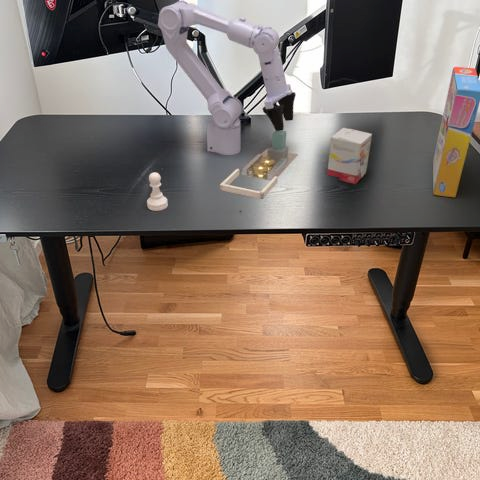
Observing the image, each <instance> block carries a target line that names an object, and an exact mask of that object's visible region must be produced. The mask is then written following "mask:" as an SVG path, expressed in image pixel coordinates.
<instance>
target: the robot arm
mask: <svg viewBox="0 0 480 480" xmlns="http://www.w3.org/2000/svg"><path fill="white" fill-rule="evenodd" d="M246 20H247V19H246V17H243V16H241V17H239V18H238V17H235V18H234V19H231V20H230V19H228V18H225V17H224V16H222V15H221V16H220V15H219V14H216V13H214V12H211V11H209V10H208V9H205V8H202V7H201V6H199V5H197V4H195V3H193V2H192V3H191V2H190V3H189V2H187V1H185V0H178V1H176V2H175V3H172V4H170V5H167V6H164V7H162V8H161V9H160V11H159V15H158V22H157V26H158V28H160V29H159V30H161V34H162V38H163V42H164V46H165V48H166V49H167V51H168V52H169V54H170V55H171V57H173V59H174V60H175V61H176V63H177V64H178V65H179V66H180V68H181V69H182V70H183V71H184V73H185V74H186V75H187V77H188V78H189V80H190V81H191V82H192V83H193V85H194V86H195V88H197V89H198V91H199V92H200V94H201V95H202V96H203V97H204V98H205V100H206V102H207V109H208V111H209V113H210V114H211V117H212V120H213V121H210V123H209V124H208V126H207V130H206V144H207V145H206V146H207V148H206V149H207V152H213V153H216V154H220V155H223V156H232V155H237V154H239V153H240V152H241V120H240V116H241V115H242V113H243V109H244V108H243V104H242V102H241V101H240V100H239V99H238V98H237V97H235V96H234V95H232V94H231V93H230V91H228V90H226V89H224V88H222V87H221V85H220V84H219V83H218V82H217V80H216V79H215V78H214V76H213V75H212V73H211V72H210V71H209V70H208V68H207V67H206V65H204V63H203V62H202V60H201V59H200V58H199V56H198V55H197V53H195V51H194V50H193V49H192V48H191V46H190V45H189V43H188V42H187V41H188V40H187V39H188V33H189V32H188V31H189V29H190V27H192V26H196V25H199V26H202V27H205V28H209V29H212V30H214V31H218V32H220V33H223V34H226V37H227V39H228V40H229V41H231V42H233V43H236V44H238V45H241V46H244V47H246V48H249V49H253V52H254V53H255V54H256V55H257V56H258V60H259V67H260V70H261V74H262V78H263V84H264V87H265V91H266V97H265V100H264V106H263V107H262V112H263V113H264V114H265V115H266V116H267V118H268V119H269V120H270V122H271V124H272V126H273V128H274V129H275V131H284V130H285V129H284V128H285V126H284V120H285V121H286V122H288V121H293V120H294V104H295V98H296V95H297V94H296V92H293V89H292V88H291V84H290V83H289V84H287V80H286V75H285V70H284V66H283V65H284V64H283V61H282V57H281V53H280V49H279V44H280V36H279V33H278V32H277V31H276V30H275V29H273V28H272V27H271V26H267V27H264V28H263V25H262V24H258V25H257V24H254V23H252V22H248V21H246ZM277 103H278V104H277Z"/></svg>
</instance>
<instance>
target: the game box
mask: <svg viewBox="0 0 480 480" xmlns="http://www.w3.org/2000/svg"><path fill="white" fill-rule="evenodd" d="M448 85H449V86H448V90H447V95H446V99H445V103H444V109H443V114H442V117H441V124H440V127H439V128H440V129H439V132H438V137H437V142H436V146H435V149H434V150H435V151H434V156H433V161H432V178H433V179H432V184H433V186H432V190H433V191H432V192H433V195H434V196H439V197H440V196H441V197H446V198H447V197H449V198H456V197H457V192H458V189H459V185H460V180H461V177H462V174H463V173H462V172H463V168H464V164H465V161H466V157H467V154H468V149H469V145H470V143H471V142H470V141H471V137H472V135H473V134H472V133H473V129H474V125H475V121H476V118H477V113H478V110H479V106H480V79H479V76H478V73H477V69H476V67H475V68H473V67H465V66H462V67H461V66H453V68H452V71H451V75H450V81H449V84H448Z"/></svg>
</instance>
